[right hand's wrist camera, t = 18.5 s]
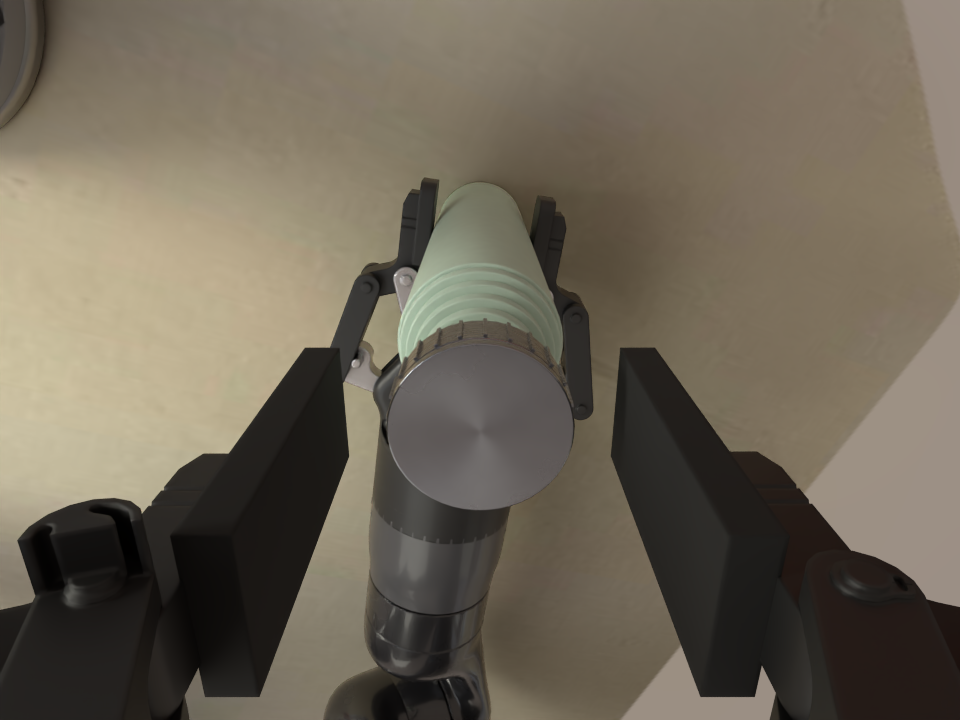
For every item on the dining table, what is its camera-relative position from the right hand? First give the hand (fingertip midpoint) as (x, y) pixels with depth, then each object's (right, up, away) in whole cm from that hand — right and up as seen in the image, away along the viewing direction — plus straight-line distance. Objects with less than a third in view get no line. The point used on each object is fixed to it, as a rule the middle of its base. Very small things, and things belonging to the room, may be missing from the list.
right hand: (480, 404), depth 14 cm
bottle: (0, +9, +21) cm, 23 cm away
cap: (0, 0, -1) cm, 1 cm away
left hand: (0, +9, +14) cm, 17 cm away
